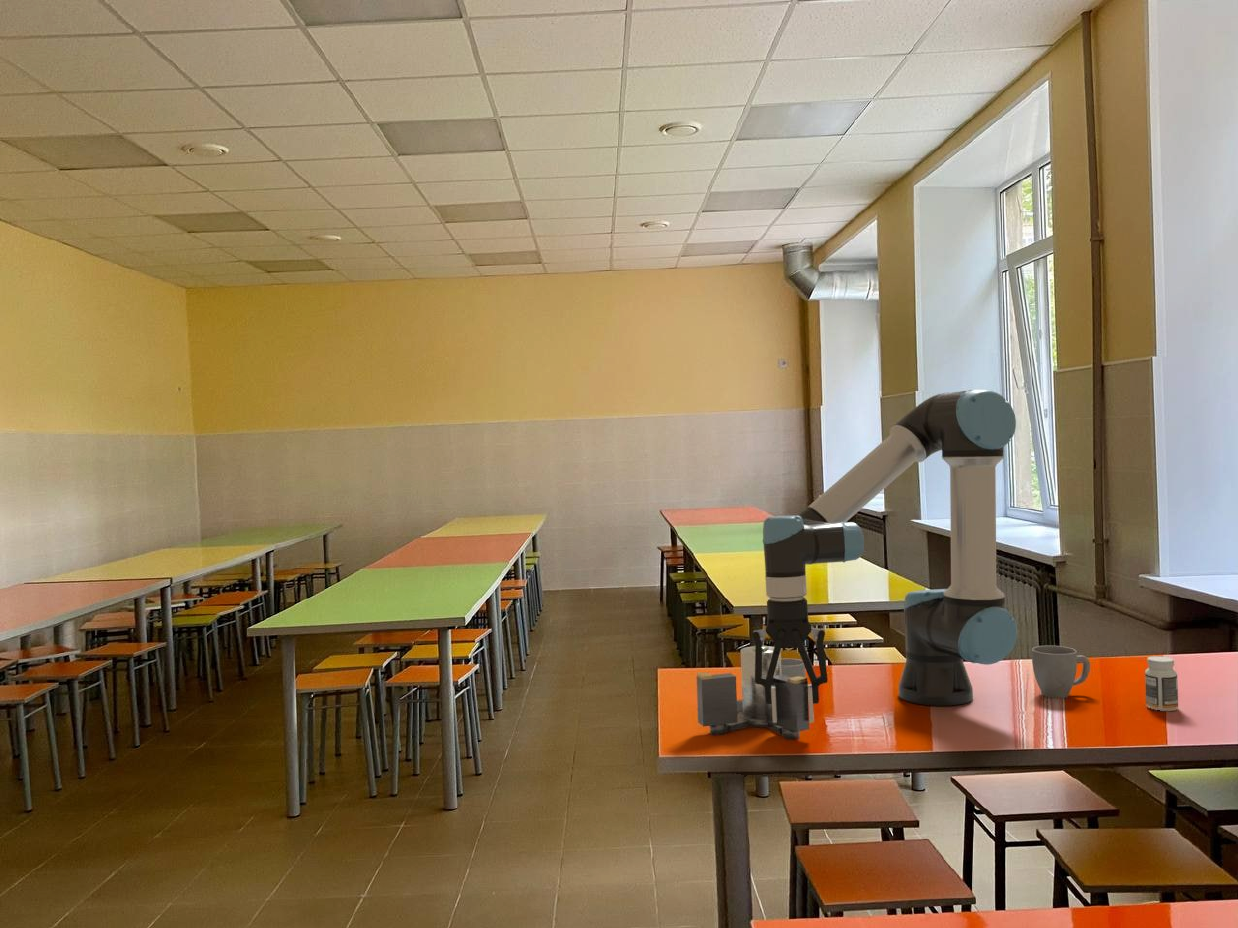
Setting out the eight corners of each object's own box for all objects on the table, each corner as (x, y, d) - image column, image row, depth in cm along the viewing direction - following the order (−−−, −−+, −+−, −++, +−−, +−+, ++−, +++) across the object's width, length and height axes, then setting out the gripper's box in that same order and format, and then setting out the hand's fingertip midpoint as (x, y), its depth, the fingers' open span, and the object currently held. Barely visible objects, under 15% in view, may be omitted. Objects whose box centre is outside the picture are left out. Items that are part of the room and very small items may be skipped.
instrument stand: (800, 713, 203) (798, 641, 203) (790, 735, 188) (787, 658, 188) (736, 710, 207) (734, 639, 207) (720, 731, 192) (718, 655, 192)
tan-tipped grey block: (732, 728, 194) (730, 669, 194) (738, 733, 191) (736, 673, 191) (698, 732, 192) (696, 673, 192) (703, 737, 189) (701, 676, 189)
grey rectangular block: (771, 734, 189) (769, 674, 189) (784, 731, 191) (782, 671, 191) (797, 743, 183) (795, 680, 183) (810, 739, 185) (807, 678, 185)
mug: (1045, 701, 205) (1043, 655, 205) (1025, 690, 214) (1024, 646, 214) (1101, 698, 206) (1100, 652, 205) (1079, 688, 214) (1078, 643, 214)
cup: (808, 708, 207) (807, 665, 206) (760, 709, 207) (758, 666, 207) (804, 699, 214) (803, 658, 214) (757, 700, 214) (756, 659, 214)
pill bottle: (1177, 705, 198) (1175, 656, 198) (1179, 713, 193) (1178, 662, 193) (1144, 703, 201) (1143, 654, 201) (1146, 710, 196) (1145, 661, 195)
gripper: (837, 593, 188) (844, 715, 188) (737, 596, 191) (743, 716, 191) (839, 599, 181) (846, 725, 180) (734, 602, 184) (741, 726, 184)
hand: (793, 720), depth 186 cm, fingers closed on grey rectangular block, 6 cm apart
